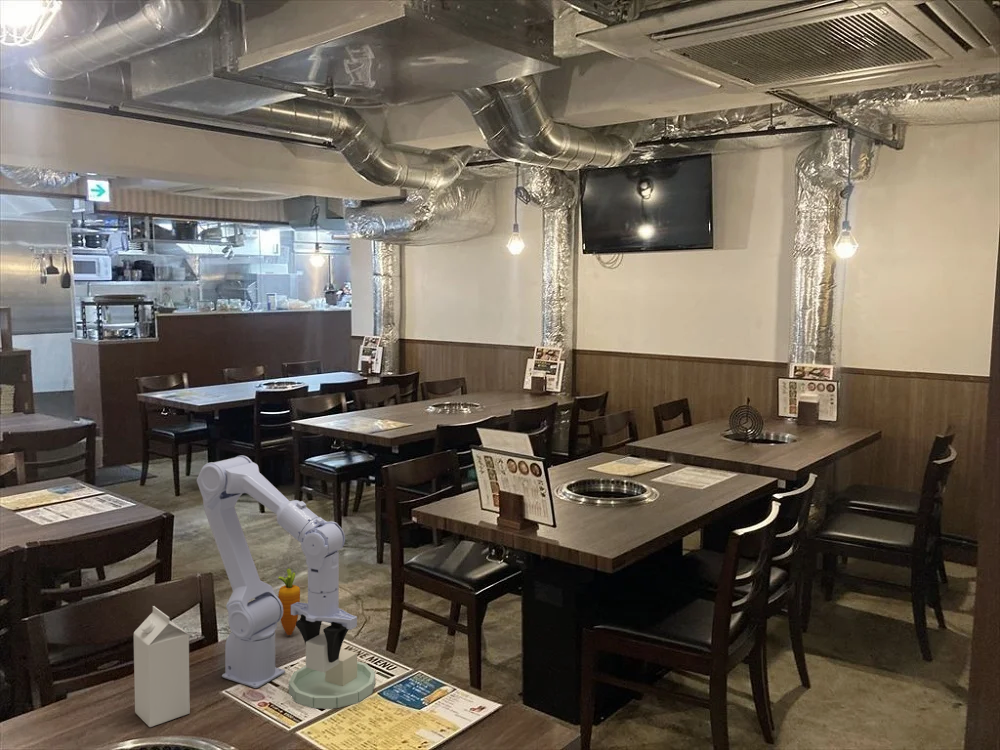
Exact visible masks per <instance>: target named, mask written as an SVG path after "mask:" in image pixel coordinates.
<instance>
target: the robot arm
mask: <svg viewBox="0 0 1000 750" xmlns="http://www.w3.org/2000/svg"><path fill="white" fill-rule="evenodd" d="M196 483H197V486H198V488H199V491H200V494H201V497H202V503H203V506H202V507H203V510H204V513H205V516H206V519H207V522H208V524H209V527H210V531H211V534H212V536H213V538H214V541H215V545H216V546H217V550H218V553H219V556H220V558H221V561H222V564H223V566H224V569H225V572H226V573H225V574H226V576H227V577H228V581H229V585H230V586H231V590H232V593H231V595H230V596H229V599H228V600H227V603H226V605H225V607H226V610H227V613H228V619H227V620H228V626H229V630H230V631H231V632H230V633H229V635H228V636H227V637H226V641H225V645H224V650H225V653H224V654H225V655H224V659H225V660H224V661H225V662H224V663H225V668H224V669H225V671H224V672H225V673H223V674H222V675H221V677H222V678H224V679H226V680H230V681H233V682H235V683H239V684H242V685H245V686H247V687H250V688H255V689H258V688H260V687H262V686H264V685H265V684H266V683H269V682H271V681H272V680H274V679H276V678H278V677H279V676H282V675H283V674H285V673H286V672H285V671H286V670H285V669H283V668H280V667H276V630H277V628H278V623H279V622H281V618H282V616H283V605H282V603H281V601H280V599H279V598H278V596H277V594H276V593H275V590H274V588H273V586H272V585H270V584H268V583H267V582H265V581H263V580H261V579H260V578H261V577H260V576H259V572H258V570H257V567H256V564H255V562H254V559H253V556H252V554H251V550H250V548H249V545H248V542H247V539H246V535H245V534H244V531H243V528H242V525H241V522H240V519H239V516H238V514H237V511H236V508H235V506H236V504H237V503H238V500H239V498H240V497H241V496H242V495H243V494H247V495H249V496H250V497H251V498H253V499H254V500H256V501H257V502H258V503H259V504H261V505H263V507H265V508H266V509H268V510H270V511H271V512H272V513H274V514H275V515H276V523H277V525H278V526H279V527H281V528H282V529H284V531H286V532H287V533H289V534H290V535H291V536H292V538H294V539H295V540H297V541H298V542H299V543H300V548H301V551H302V554H303V555H304V556H305V562H306V563H305V565H306V566H307V602H301V601H300V602H296V603H294V604H292V605H291V615H298V616H300V618H299V620H298V619H297V622H296V626H295V627H296V628H297V629H298V631H299V632H300V634H301V636H302V639H303V640H304V645H305V646H306V641H308V640H310V639H312V638H314V637H316V636H318V635H320V634H321V633H320V632H321V627H322V622H325V623H329V624H330V625H328V626H327V627H323V629H322V631H323V634H325V637H326V641H327V647H328V660H329V662H330V663H332V662H334V661H336V660H337V659H338V658H339V653H340V649H341V648H342V645H343V642H344V640H345V638H346V635H347V634H348V631H349V630H350V631H351V630H353V629H355V628H356V627H358V616H357V615H353V614H351V613H349V612H347V611H345V610H343V609H342V608H340V607H339V606H340V603H339V600H340V599H339V598H340V596H339V594H340V593H339V590H340V589H339V587H340V585H339V584H340V583H339V581H340V577H339V576H340V574H339V573H340V570H339V569H340V552H339V551H340V550H341V549H342V548H343V547H344V545H345V543H346V535H345V532H344V530H343V528H342V527H341V526H340V525H339V523H338V522H335V521H330V520H329V521H326V520H325V519H323V518H322V517H321V516H318V515H317V514H316V513H315V512H313V511H312V510H311V509H310V508H308V507H307V504H306V503H305V502H304V501H303V500H301V501H300V500H297V499H293V500H289V499H288V498H287V497H286V496H285V495H284V494H283V493H282V492H281V491H280V490H278V488H276V486H274V485H273V483H271V482H270V481H269V480H268V479H267V478H266V477H265V476H264V475H263V474H262V473H260V468H259V465H258V464H257V463H255V462H253V461H252V459H250V458H249V457H248V456H246V455H237V456H235V457H231V458H228V459H223V460H218V461H214V462H212V461H211V462H207V463H206V464H204V465H203V466H202V468H200V471H199V473H198V476H197V478H196ZM250 600H251V601H250Z"/></svg>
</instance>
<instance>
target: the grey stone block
mask: <svg viewBox="0 0 1000 750" xmlns="http://www.w3.org/2000/svg"><path fill="white" fill-rule="evenodd" d="M338 664H339V658H338V659H337V660H336V661H334V662H332V663H330V662H329V660H328V647H327V641H326V637H325V634H324V633H320V634H319V635H318V636H316V637H314V638H312V639H310V640H308V641H306V645H305V666H306V668H310V669H313V670H316V671H320V672H323V673H324V672H326V671H328V670H329V669H331V668H333V667H334V666H336V665H338Z"/></svg>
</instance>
